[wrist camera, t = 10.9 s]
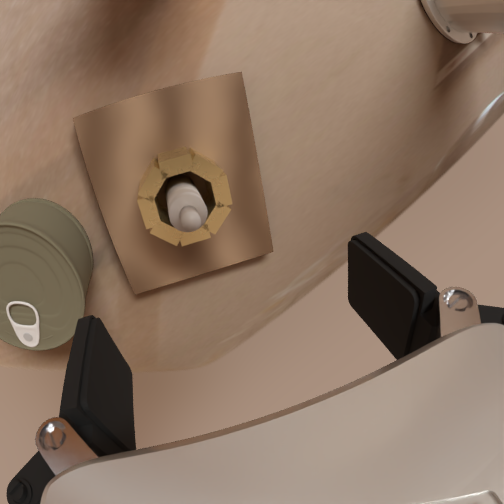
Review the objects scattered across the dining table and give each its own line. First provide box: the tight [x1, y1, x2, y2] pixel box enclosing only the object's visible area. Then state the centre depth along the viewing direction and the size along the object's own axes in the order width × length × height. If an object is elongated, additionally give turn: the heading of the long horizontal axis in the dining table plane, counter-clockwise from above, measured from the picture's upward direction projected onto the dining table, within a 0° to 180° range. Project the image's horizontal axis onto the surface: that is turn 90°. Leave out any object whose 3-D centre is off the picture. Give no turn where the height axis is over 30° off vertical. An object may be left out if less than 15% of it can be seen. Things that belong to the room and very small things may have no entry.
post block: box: [73, 72, 273, 295], centre depth 23 cm, size 14×17×10 cm
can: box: [0, 198, 93, 351], centre depth 23 cm, size 12×12×7 cm
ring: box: [137, 147, 232, 246], centre depth 24 cm, size 7×7×4 cm
